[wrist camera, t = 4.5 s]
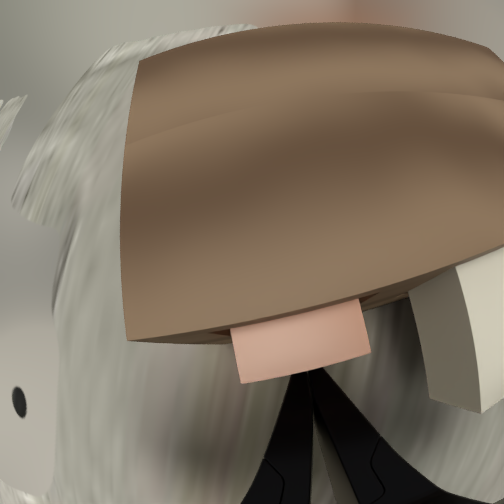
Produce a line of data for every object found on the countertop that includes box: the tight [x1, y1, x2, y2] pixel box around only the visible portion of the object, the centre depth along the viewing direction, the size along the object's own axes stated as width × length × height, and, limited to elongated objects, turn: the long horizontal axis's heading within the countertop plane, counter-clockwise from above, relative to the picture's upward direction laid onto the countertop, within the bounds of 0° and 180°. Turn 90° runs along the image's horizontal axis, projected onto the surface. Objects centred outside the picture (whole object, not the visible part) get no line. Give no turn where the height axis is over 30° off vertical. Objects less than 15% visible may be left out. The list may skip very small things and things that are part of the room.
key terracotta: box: [230, 299, 371, 384], centre depth 9 cm, size 6×4×4 cm, turn 11°
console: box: [120, 22, 504, 344], centre depth 12 cm, size 12×22×10 cm, turn 101°
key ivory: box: [408, 247, 504, 414], centre depth 8 cm, size 6×4×4 cm, turn 11°
